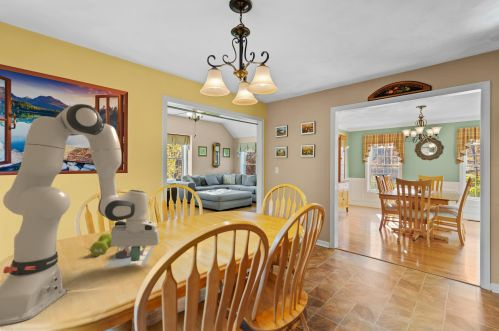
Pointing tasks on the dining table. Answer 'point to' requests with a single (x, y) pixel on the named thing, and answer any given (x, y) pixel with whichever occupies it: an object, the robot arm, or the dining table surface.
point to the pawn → (135, 253)
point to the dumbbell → (101, 245)
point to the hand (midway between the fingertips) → (135, 255)
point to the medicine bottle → (119, 224)
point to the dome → (121, 248)
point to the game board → (129, 258)
